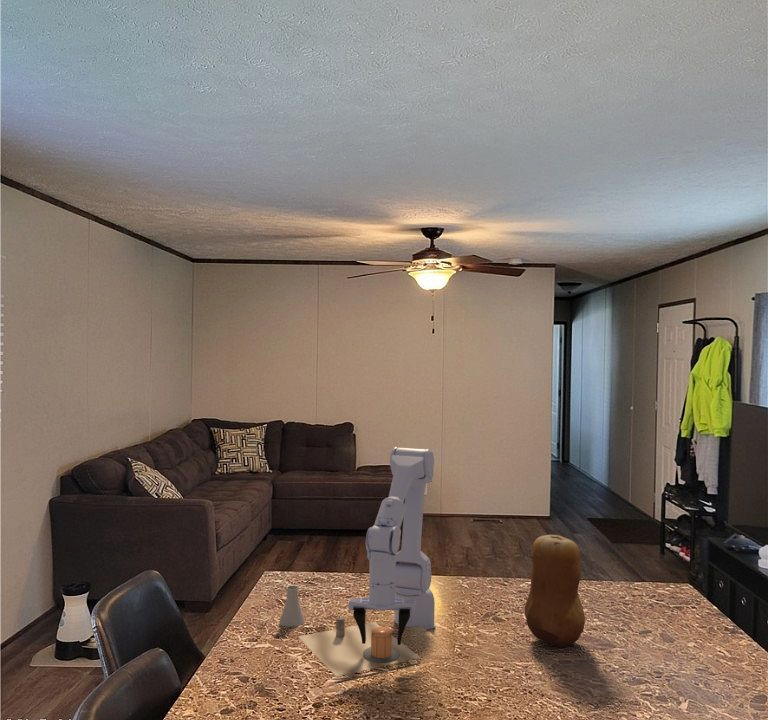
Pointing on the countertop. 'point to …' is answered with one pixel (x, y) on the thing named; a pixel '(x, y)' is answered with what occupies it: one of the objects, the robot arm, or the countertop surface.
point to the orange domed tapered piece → (381, 642)
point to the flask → (292, 609)
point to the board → (353, 650)
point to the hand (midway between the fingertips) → (381, 642)
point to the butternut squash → (555, 591)
